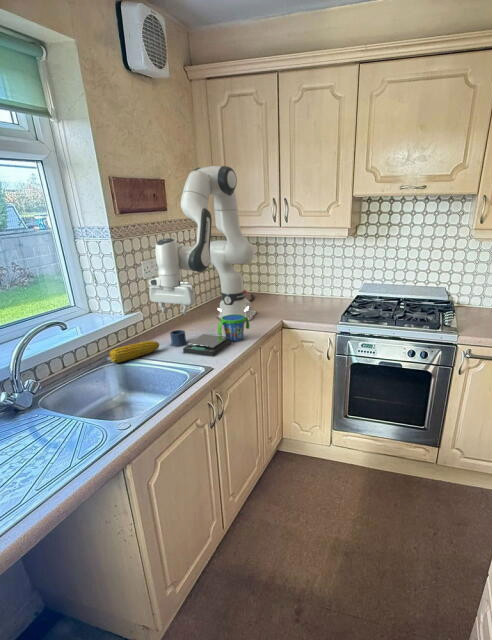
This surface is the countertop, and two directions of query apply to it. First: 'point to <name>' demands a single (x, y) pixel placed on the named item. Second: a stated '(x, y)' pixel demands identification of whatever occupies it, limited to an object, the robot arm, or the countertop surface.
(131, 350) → the food
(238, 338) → the snack cup
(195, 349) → the scale
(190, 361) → the countertop surface
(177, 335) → the dark blue faceted pot
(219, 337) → the scale pan
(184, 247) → the robot arm
